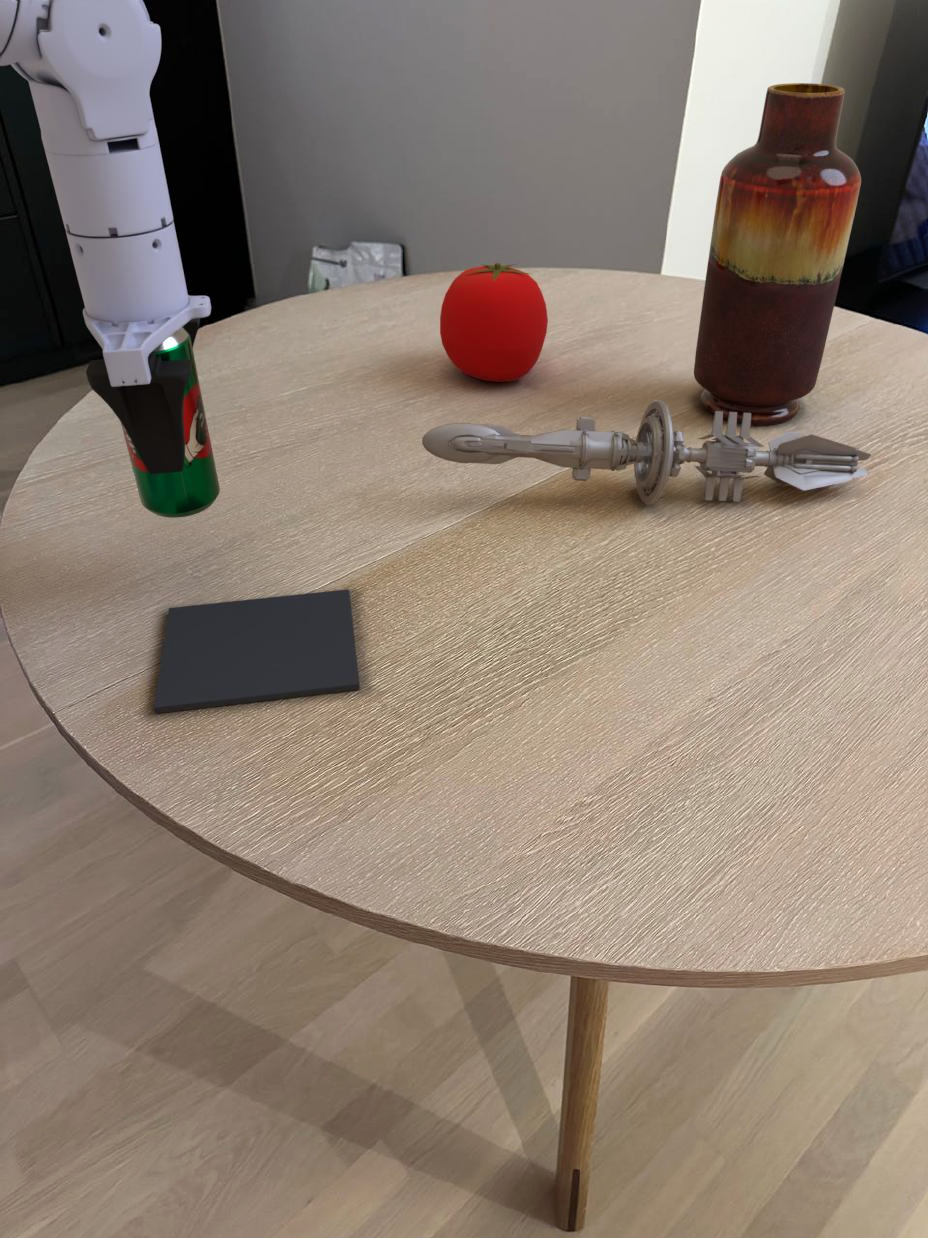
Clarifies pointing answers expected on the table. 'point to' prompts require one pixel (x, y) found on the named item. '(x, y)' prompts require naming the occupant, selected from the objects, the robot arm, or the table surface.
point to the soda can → (199, 474)
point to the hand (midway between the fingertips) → (170, 450)
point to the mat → (257, 651)
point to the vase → (776, 258)
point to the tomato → (493, 322)
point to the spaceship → (658, 453)
